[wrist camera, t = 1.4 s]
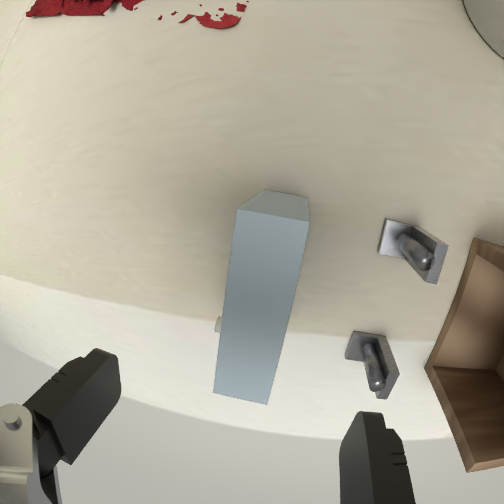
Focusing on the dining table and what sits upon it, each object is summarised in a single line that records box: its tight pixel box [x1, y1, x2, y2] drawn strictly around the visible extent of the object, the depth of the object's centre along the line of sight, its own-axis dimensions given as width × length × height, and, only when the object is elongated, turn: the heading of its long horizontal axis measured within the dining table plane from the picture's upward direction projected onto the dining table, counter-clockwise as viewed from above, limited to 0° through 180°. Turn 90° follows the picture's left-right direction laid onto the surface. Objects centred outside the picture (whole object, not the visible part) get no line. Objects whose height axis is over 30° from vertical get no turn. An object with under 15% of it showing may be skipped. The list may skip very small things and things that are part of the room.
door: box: [213, 190, 310, 405], centre depth 18 cm, size 10×4×9 cm, turn 171°
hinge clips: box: [345, 219, 448, 399], centre depth 20 cm, size 11×3×5 cm, turn 171°
